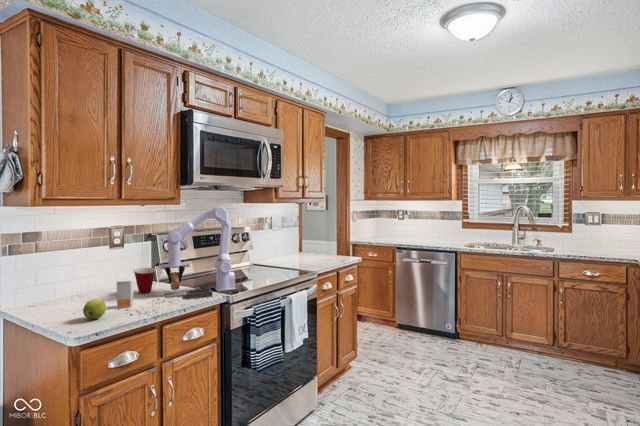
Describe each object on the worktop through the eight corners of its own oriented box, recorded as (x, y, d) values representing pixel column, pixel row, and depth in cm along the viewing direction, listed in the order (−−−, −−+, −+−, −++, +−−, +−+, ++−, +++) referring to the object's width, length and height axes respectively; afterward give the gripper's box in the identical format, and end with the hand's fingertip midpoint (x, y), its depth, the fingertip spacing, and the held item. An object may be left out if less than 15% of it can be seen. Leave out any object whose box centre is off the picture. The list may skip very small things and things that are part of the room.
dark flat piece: (209, 292, 211) (209, 286, 211) (212, 296, 203) (212, 290, 203) (185, 295, 206) (185, 288, 206) (187, 299, 198) (187, 292, 198)
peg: (178, 287, 209) (178, 271, 208) (179, 289, 205) (179, 273, 205) (170, 288, 207) (170, 272, 206) (171, 289, 203) (171, 273, 203)
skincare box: (116, 308, 182) (116, 281, 182) (119, 305, 187) (118, 279, 186) (131, 307, 184) (130, 280, 183) (133, 304, 188) (133, 279, 187)
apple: (110, 315, 172) (109, 296, 171) (99, 322, 162) (98, 302, 162) (91, 315, 171) (90, 296, 171) (79, 322, 162) (78, 302, 162)
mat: (183, 292, 212) (183, 290, 212) (185, 295, 204) (185, 294, 204) (165, 293, 208) (165, 292, 208) (166, 297, 200) (166, 296, 200)
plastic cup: (141, 296, 204) (141, 272, 203) (129, 293, 210) (128, 270, 210) (161, 291, 213) (160, 268, 212) (148, 289, 219) (148, 266, 219)
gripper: (159, 257, 199) (160, 285, 199) (190, 255, 205) (191, 282, 205) (158, 255, 205) (159, 282, 206) (188, 253, 211) (189, 279, 212)
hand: (174, 282), depth 206 cm, fingers closed on peg, 4 cm apart
